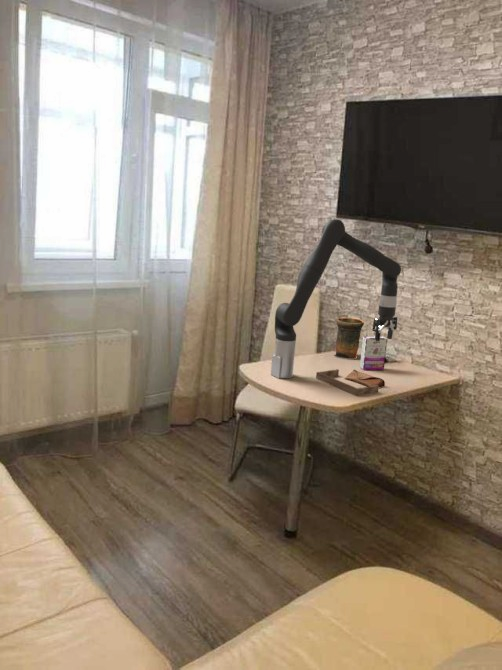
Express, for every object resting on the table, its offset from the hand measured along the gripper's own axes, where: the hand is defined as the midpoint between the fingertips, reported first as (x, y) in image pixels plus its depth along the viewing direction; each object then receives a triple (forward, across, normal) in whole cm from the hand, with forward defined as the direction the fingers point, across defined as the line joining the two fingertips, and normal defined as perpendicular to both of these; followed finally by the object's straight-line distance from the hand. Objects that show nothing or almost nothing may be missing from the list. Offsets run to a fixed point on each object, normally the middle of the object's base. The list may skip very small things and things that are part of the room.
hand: (383, 339), depth 256 cm
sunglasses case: (+20, +11, +1) cm, 23 cm away
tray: (+19, +22, 0) cm, 29 cm away
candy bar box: (+19, -10, -13) cm, 25 cm away
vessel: (+19, -16, -36) cm, 44 cm away
